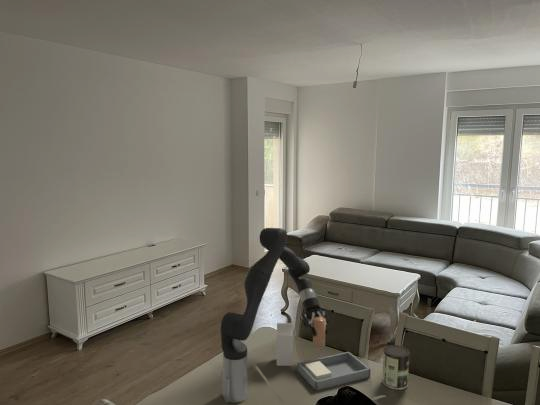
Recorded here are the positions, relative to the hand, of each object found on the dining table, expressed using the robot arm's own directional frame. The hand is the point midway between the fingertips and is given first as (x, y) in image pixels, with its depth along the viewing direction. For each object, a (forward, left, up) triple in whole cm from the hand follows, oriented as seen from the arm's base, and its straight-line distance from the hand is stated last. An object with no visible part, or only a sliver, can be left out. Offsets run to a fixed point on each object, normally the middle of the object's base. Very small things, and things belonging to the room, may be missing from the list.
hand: (321, 334), depth 185 cm
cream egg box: (-8, -12, -12) cm, 19 cm away
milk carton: (-16, +5, -13) cm, 21 cm away
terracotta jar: (0, +2, -6) cm, 6 cm away
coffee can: (+20, -26, -13) cm, 36 cm away
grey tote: (-1, -12, -13) cm, 18 cm away
